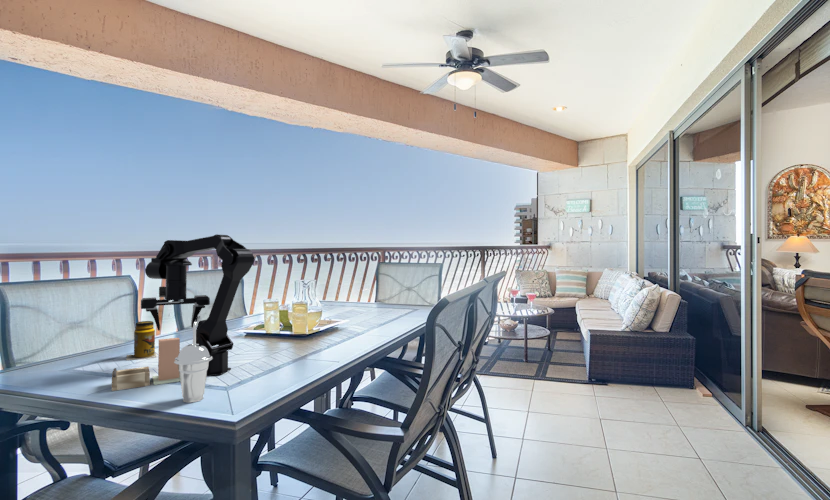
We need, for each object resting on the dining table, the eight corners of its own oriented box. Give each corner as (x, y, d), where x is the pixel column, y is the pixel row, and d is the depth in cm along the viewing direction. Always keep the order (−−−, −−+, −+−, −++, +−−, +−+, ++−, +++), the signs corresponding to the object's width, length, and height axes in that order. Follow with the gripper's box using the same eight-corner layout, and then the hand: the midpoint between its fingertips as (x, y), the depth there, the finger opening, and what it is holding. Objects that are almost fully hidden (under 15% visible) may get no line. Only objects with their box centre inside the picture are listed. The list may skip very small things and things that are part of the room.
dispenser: (148, 378, 121) (148, 364, 121) (149, 385, 115) (149, 370, 115) (112, 383, 116) (112, 368, 116) (111, 391, 110) (111, 375, 110)
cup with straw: (165, 404, 101) (166, 321, 101) (191, 391, 110) (192, 315, 110) (196, 406, 99) (197, 322, 100) (220, 394, 108) (221, 316, 108)
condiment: (156, 357, 145) (156, 322, 145) (126, 360, 140) (126, 324, 140) (155, 353, 151) (155, 319, 151) (126, 356, 146) (127, 321, 146)
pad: (182, 373, 126) (182, 372, 126) (185, 380, 119) (185, 379, 119) (152, 377, 122) (152, 376, 122) (154, 385, 115) (154, 383, 115)
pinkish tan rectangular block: (178, 375, 123) (178, 337, 123) (179, 377, 121) (179, 339, 121) (158, 377, 120) (158, 339, 120) (159, 380, 118) (159, 341, 118)
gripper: (204, 277, 145) (204, 322, 145) (140, 279, 135) (140, 327, 135) (210, 279, 136) (209, 327, 136) (141, 281, 125) (141, 333, 125)
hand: (175, 328), depth 133 cm, fingers open, 9 cm apart
